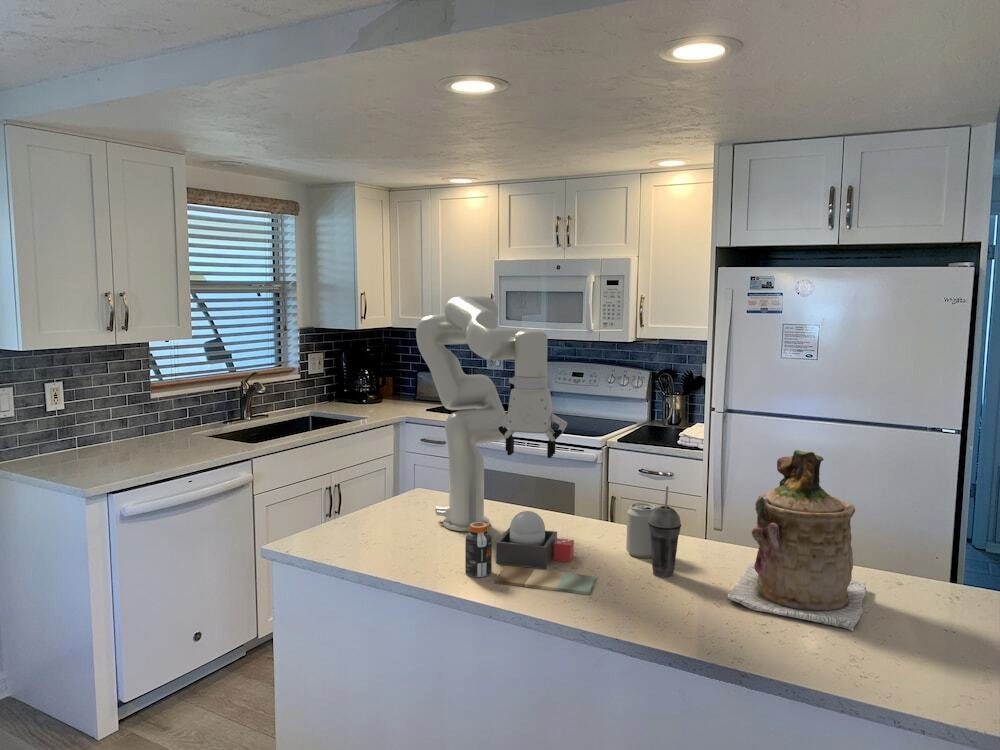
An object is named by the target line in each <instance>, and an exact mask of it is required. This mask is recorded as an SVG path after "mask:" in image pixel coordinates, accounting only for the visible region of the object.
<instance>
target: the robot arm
mask: <svg viewBox="0 0 1000 750" xmlns="http://www.w3.org/2000/svg"><path fill="white" fill-rule="evenodd" d="M443 312H444V313H443V314H441V313H440V314H433V315H431V314H430V315H428V316H424V317H422V318H421V319H420V320H419V322H418V323H417V326H416V329H415V336H416V343H417V344H416V345H417V348H418V350H419V352H420V354H421V357H422V358H423V360H424V362H425V364H426V365H427V367H428V369H429V371H430V373H431V377H432V380H433V382H434V385H435V388H436V391H437V393H438V396H439V399H440V402H441V404H442V407H444V408H445V409H447V410H450V411H454V412H452V413H450V414H449V415H448V416H447V418H446V420H445V422H444V427H445V428H444V430H445V431H444V432H445V436H446V437H445V438H446V441H447V447H448V448H447V449H448V506H446V507H443V506H436V507H435V510H434V511H435V514H436V516H437V517H438V516H439V517H440V516H441V517H444V519H443V521H442V522H443V526H444V527H445V528H446V529H448V530H451V531H456V532H470V524H471V523H475V522H482V523H486V524H487V525H488V527H489V525H490V523H491V522H490V519H489V518H488V517H487V516H485V461H484V457H483V455H482V453H481V452H480V451H479V449H478V447H477V445H483V444H491V443H496V442H497V443H498V442H500V441H502V440H503V441H504V440H505V451H506V452H507V453H506V455H507V456H511V455H512V454H514V453H515V439H514V436H513V435H514V433H522V434H523V433H525V434H544V435H546V437H547V438H548V440H547V443H546V444H547V448H546V449H547V451H546V452H547V453H546V455H547V458H548V459H551V458H552V457H553V456H554V455H555V454H556V440H557V439H558V438H559V437H560V436H561V435H562V434H563V433H564V432H565V430H566V427H567V426H568V422H567V421H566V420H564V419H562V418H560V417H559V416H557V415H556V414H554V413H553V403H552V396H551V395H552V394H551V390H550V389H549V388H548V335H547V333H546V332H545V331H543V330H531V329H527V328H524V327H523V328H520V327H519V328H517V327H516V328H515V327H514V328H513V327H512V328H497V326H498V320H497V319H498V317H499V309H498V306H497V303H496V302H495V300H494V299H492V298H491V297H489V296H486V295H458V296H454V297H452V298H450V300H447V302H446V304H445V305H444V309H443ZM445 345H468V347H469V349H470V350H471V351H472V352H473V353H474V354H475V355H477V356H478V357H480V358H482V359H484V360H486V361H506V360H507V361H509V360H512V361H514V376H513V377H508V378H509V379H508V383H509V384H512V385H513V387H514V388H512V389H510V392H509V393H510V394H509V399H508V408H507V412H506V411H505V408H504V406H503V403H502V401H501V399H500V398H501V397H500V396H499V392H498V391H497V388H496V385H495V384H494V381H492V379H491V378H490V377H488V375H486V374H477V373H476V374H466V373H465V372H464V370H463V368H462V366H461V363H460V360H459V359H458V357H457V355H455V354H454V353H453V352H452V351H451V350H449V349H448V348H447V347H446V346H445ZM554 423H555V424H557V425H559V426H558V429H556V431H554V430H553V425H554Z"/></svg>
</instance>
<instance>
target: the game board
mask: <svg viewBox="0 0 1000 750" xmlns="http://www.w3.org/2000/svg"><path fill="white" fill-rule="evenodd" d="M596 580H597V576H596V575H588V574H581V573H579V574H578V573H571V572H563V571H553V570H546V569H539V568H536V569H535V568H530V567H529V568H527V567H522V566H513V565H511V566H510V565H504V567H503V568H502V569H501V571H500V572H499V573H498V574H497V575H496V576H495V578H494V579H493V583H494V584H501V585H509V586H517V587H523V588H524V587H525V588H533V589H541V590H542V589H543V590H548V591H558V592H564V593H565V592H567V593H574V594H581V595H590V593H591V591H592V589H593V588H594V584H595V582H596Z"/></svg>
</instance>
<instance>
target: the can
mask: <svg viewBox="0 0 1000 750" xmlns="http://www.w3.org/2000/svg"><path fill="white" fill-rule="evenodd" d="M656 508H657V506H656V505H654V504H653V503H647V502H636V503H635V502H633V503H631V504H630V506H629V509H628V510H627V514H626V548H625V549H626V551H627V552H628V553H629V555H631V556H632V555H633V556H632V557H635V558H641V557H642V558H643V559H645V558H646V559H647V558H652V553H651V536H650V531H649V524H648V522H649V518H650V516H651V513H652V512H653V511H654V510H655V509H656Z"/></svg>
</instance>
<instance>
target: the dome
mask: <svg viewBox="0 0 1000 750" xmlns="http://www.w3.org/2000/svg"><path fill="white" fill-rule="evenodd" d="M545 527H546V525H545V522H544V520H543V518H542V517H541V516H540V515H539V514H538V513H537V512H535V511H531V510H523V511H520V512H519V513H517V514H516V515H514V517H513V518H512V519H511V522H510V525H509V528H510V543H518V544H527V545H537V546H544V545H545V530H546V528H545Z"/></svg>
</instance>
